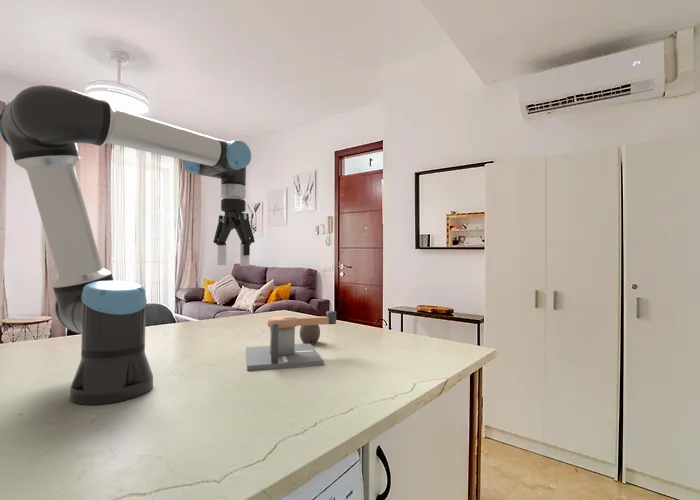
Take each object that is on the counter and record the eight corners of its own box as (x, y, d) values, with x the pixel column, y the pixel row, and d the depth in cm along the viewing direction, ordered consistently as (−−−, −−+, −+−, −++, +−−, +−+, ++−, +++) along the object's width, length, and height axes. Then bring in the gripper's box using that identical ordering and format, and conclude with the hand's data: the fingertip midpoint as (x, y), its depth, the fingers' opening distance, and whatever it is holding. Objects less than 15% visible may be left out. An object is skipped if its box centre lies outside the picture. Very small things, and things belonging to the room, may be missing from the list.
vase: (318, 345, 124) (319, 318, 124) (298, 345, 124) (298, 318, 124) (320, 340, 131) (321, 315, 131) (301, 340, 131) (301, 315, 131)
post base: (323, 364, 102) (323, 322, 102) (247, 370, 97) (247, 325, 97) (310, 347, 122) (310, 311, 122) (245, 351, 116) (246, 313, 116)
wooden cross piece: (268, 328, 104) (269, 316, 104) (266, 323, 112) (267, 311, 112) (339, 325, 110) (339, 313, 110) (332, 320, 118) (332, 309, 118)
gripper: (266, 197, 115) (265, 266, 115) (223, 203, 131) (223, 264, 131) (245, 194, 109) (244, 267, 109) (203, 201, 126) (202, 264, 126)
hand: (232, 265), depth 120 cm, fingers open, 13 cm apart
